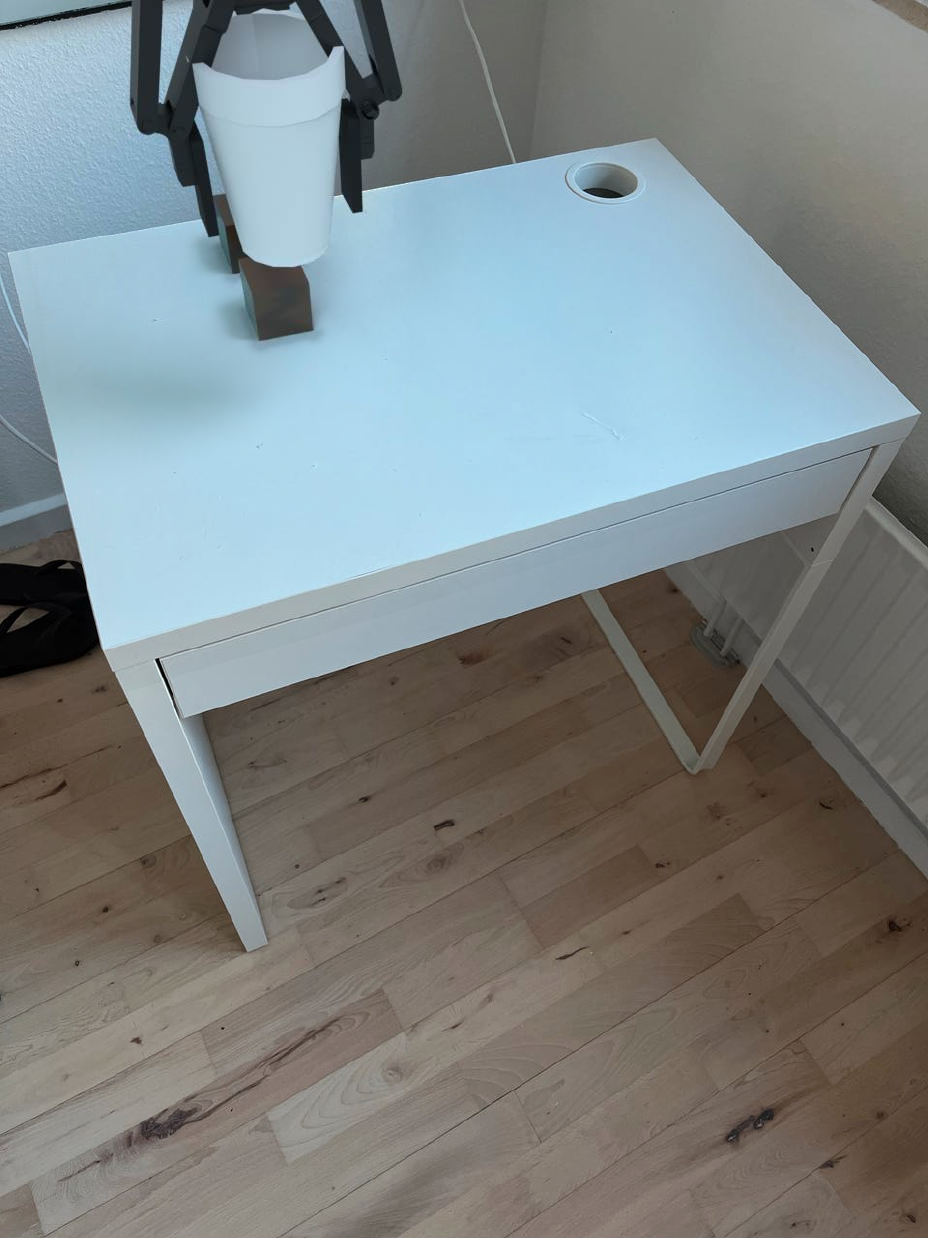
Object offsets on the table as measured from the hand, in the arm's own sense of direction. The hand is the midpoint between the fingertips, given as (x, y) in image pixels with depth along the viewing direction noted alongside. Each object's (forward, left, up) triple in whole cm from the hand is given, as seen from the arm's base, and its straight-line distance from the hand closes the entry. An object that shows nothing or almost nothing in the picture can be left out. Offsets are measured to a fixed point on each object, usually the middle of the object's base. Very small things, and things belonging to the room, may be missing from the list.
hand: (282, 213), depth 65 cm
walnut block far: (+1, +21, -17) cm, 27 cm away
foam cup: (0, 0, -2) cm, 2 cm away
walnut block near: (+1, +11, -17) cm, 21 cm away
